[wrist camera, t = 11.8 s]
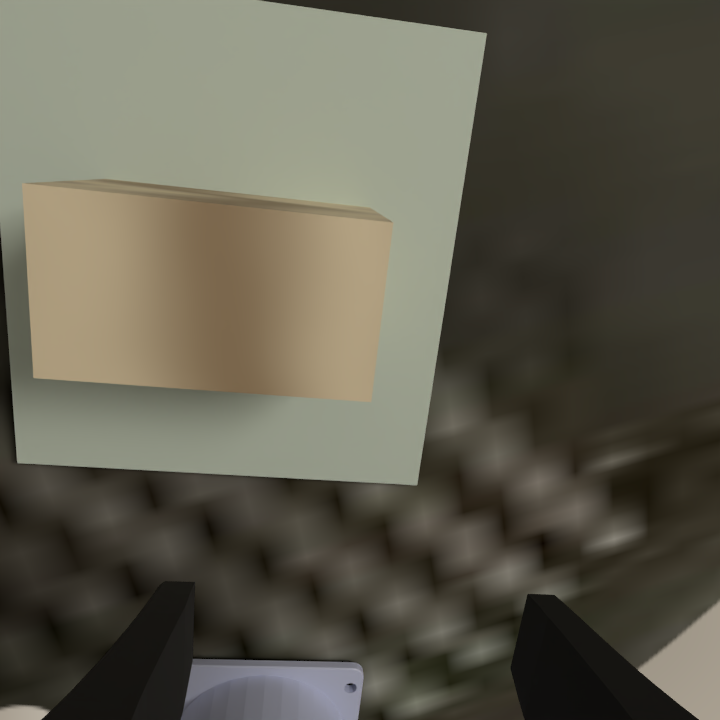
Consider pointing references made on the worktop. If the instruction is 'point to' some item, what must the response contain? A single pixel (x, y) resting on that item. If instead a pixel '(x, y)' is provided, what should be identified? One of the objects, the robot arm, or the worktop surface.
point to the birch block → (204, 289)
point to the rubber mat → (246, 176)
